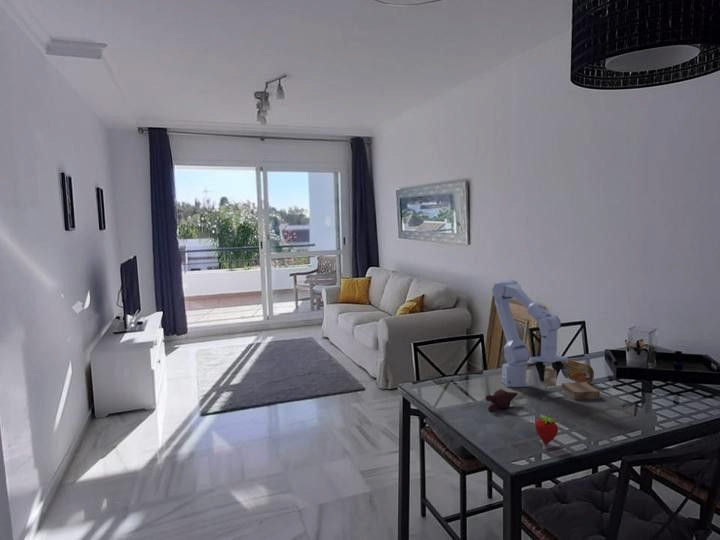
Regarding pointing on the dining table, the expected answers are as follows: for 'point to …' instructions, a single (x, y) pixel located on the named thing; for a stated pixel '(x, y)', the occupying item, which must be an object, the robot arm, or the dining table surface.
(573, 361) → the tin
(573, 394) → the plinth
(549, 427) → the strawberry
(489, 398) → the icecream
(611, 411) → the dining table surface
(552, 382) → the birch block
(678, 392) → the dining table surface
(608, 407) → the dining table surface
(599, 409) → the dining table surface
